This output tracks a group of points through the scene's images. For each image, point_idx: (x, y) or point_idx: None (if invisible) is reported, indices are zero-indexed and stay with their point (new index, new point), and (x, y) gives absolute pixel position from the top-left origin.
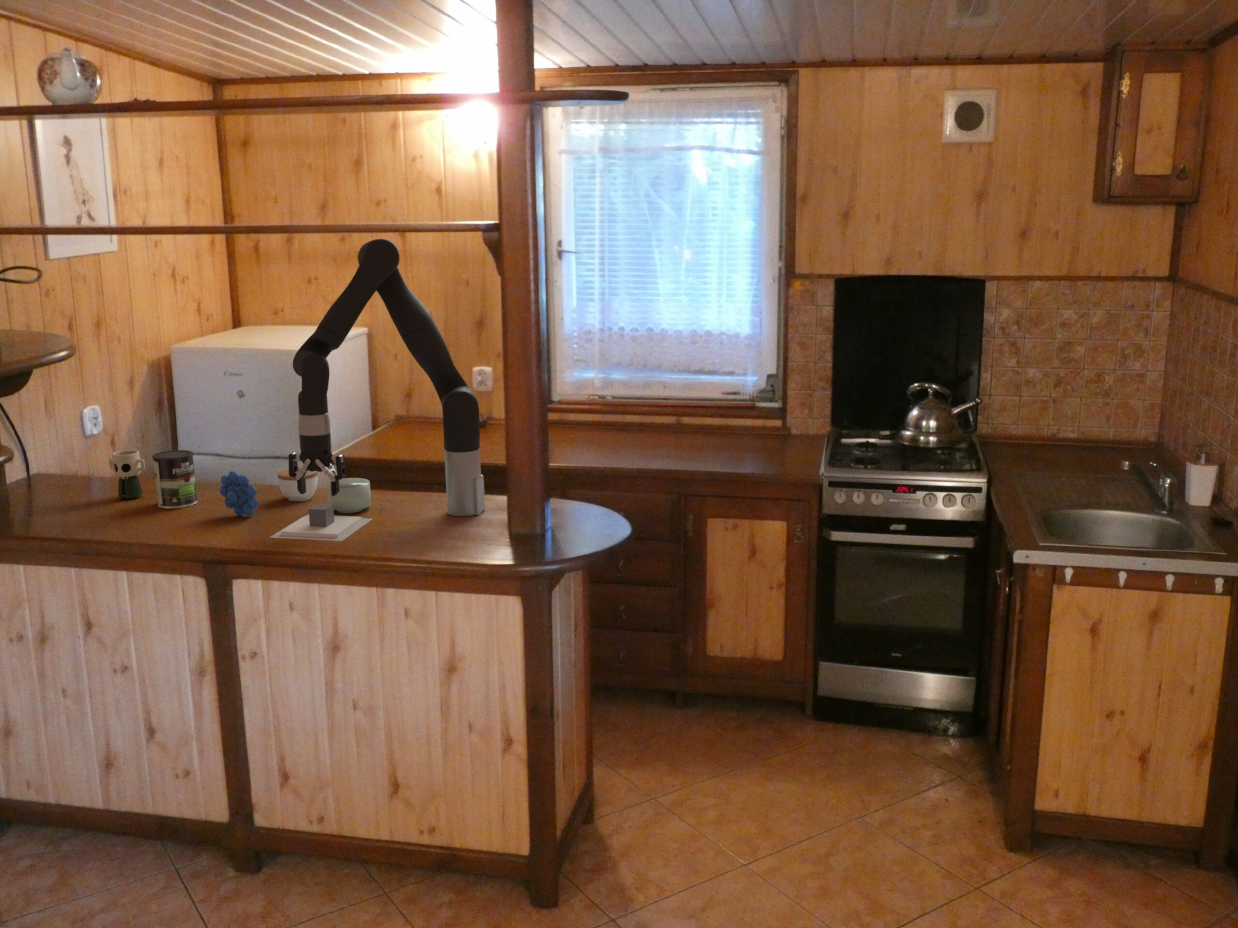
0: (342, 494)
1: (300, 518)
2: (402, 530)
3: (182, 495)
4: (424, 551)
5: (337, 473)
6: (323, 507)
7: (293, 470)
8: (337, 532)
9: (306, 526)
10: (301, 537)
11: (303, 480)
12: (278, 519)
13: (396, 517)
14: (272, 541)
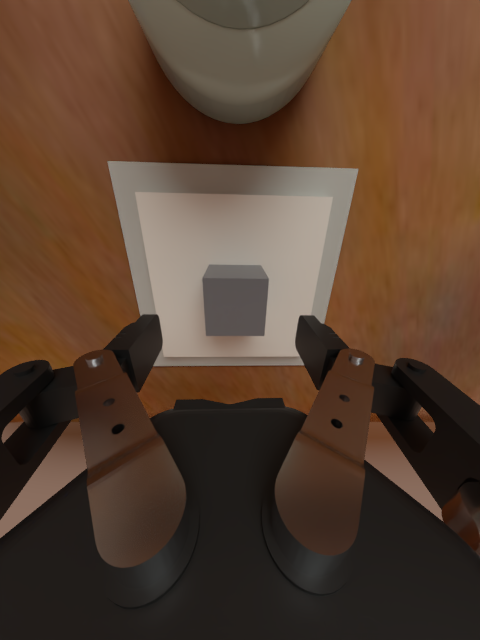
0: (250, 85)
1: (118, 201)
2: (446, 267)
3: None
4: (477, 385)
5: (395, 437)
6: (247, 313)
7: (46, 448)
8: None
9: (203, 314)
10: (220, 358)
11: (137, 366)
12: (48, 209)
13: (437, 120)
14: (170, 377)
